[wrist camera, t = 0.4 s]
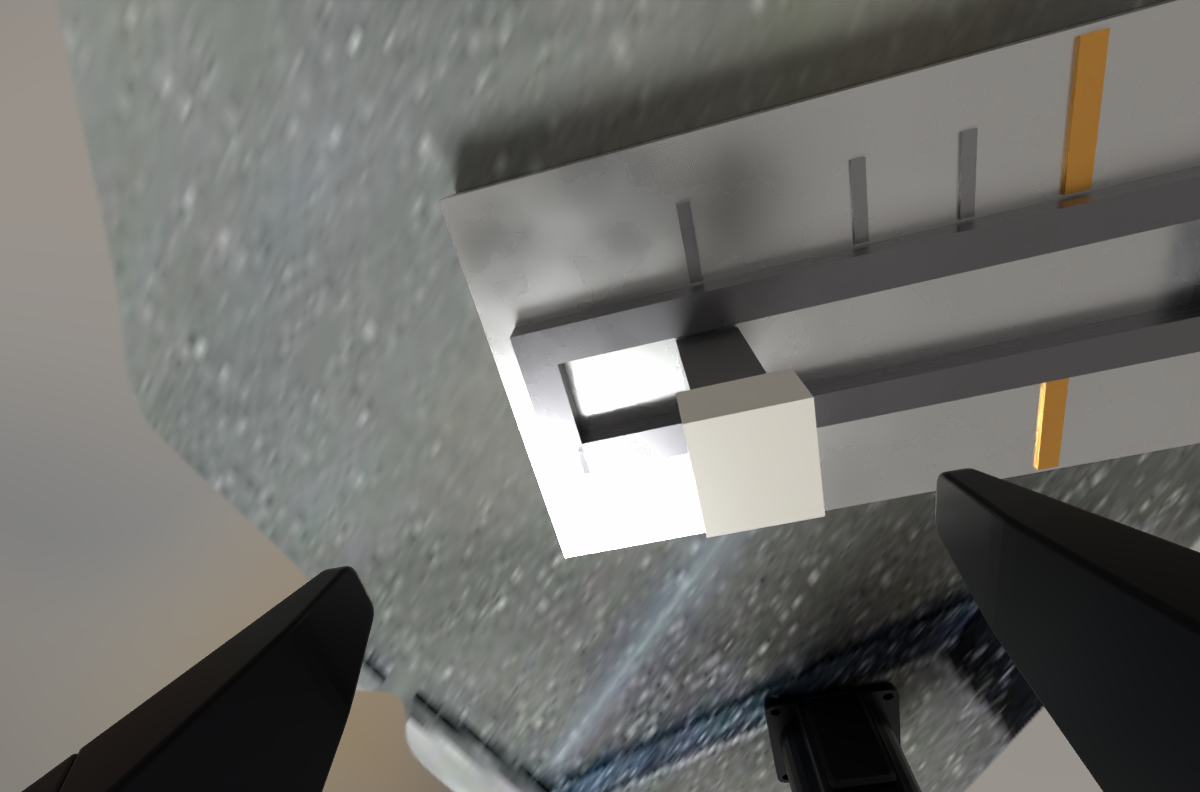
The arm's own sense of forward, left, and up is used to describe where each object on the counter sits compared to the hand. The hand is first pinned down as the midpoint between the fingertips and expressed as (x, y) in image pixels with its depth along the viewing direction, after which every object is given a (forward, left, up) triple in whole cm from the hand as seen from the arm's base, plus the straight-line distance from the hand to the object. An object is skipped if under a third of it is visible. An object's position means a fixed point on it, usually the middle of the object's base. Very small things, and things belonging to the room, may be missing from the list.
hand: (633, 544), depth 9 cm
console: (-2, -8, -13) cm, 15 cm away
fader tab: (-2, -3, -10) cm, 11 cm away
